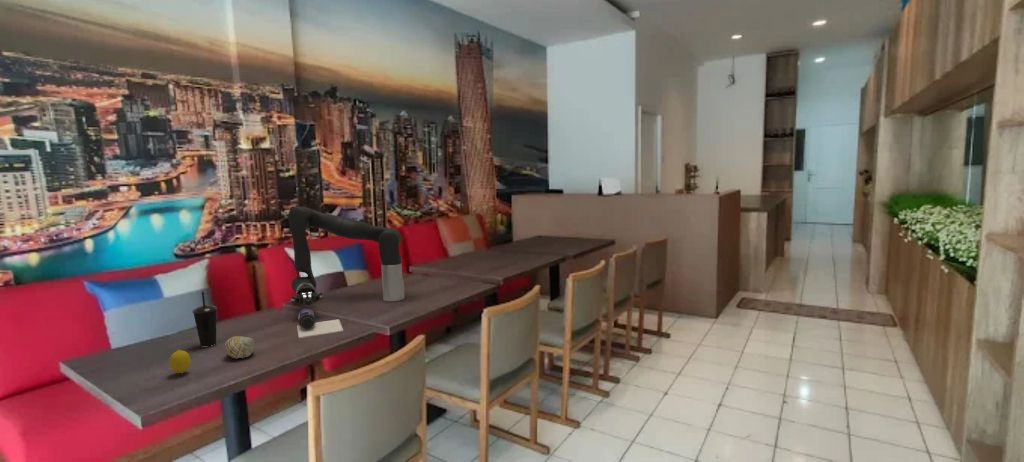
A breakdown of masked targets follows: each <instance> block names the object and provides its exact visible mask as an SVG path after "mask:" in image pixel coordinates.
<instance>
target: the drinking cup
mask: <svg viewBox="0 0 1024 462" xmlns="http://www.w3.org/2000/svg"><path fill="white" fill-rule="evenodd" d="M201 297H202V305H200V306H198V307H196V308H195V309H193V310H191V312H192V314H193V317H194V318H193V319H194V321H195V326H196V331H197V335H198V339H199V343H200V347H201V346H211V345H214V344H216V345H217V310H218V307H217V306H215V305H210V304H206V300H205V292H204V291H201ZM214 346H215V345H214Z"/></svg>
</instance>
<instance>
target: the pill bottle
mask: <svg viewBox="0 0 1024 462" xmlns="http://www.w3.org/2000/svg"><path fill="white" fill-rule="evenodd" d="M297 318H298V319H297V320H298V325H300V326H301V327H302V328H304V329H310V328H312V327H313V325H314V324H315V323H316V316H315V313H314V311H313V309H310V308H304V309H303V308H302V310H300V311H299V313H298V315H297Z"/></svg>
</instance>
